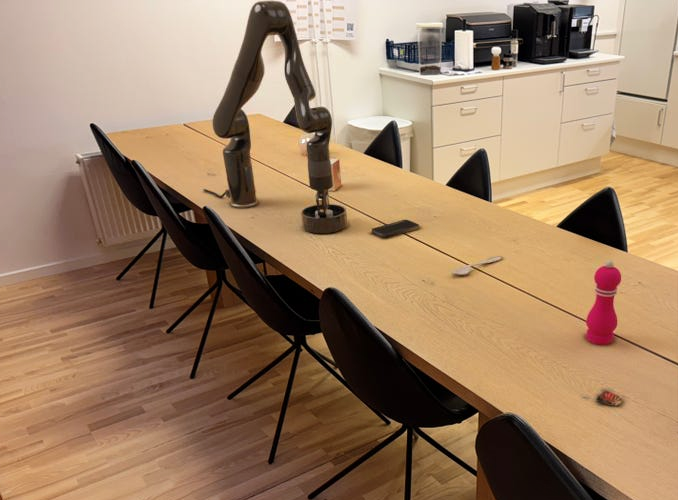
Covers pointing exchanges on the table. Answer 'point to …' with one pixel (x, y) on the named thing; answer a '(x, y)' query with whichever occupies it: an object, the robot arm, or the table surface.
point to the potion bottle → (304, 142)
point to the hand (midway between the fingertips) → (325, 222)
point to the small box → (335, 174)
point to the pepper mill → (603, 305)
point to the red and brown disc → (609, 398)
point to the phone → (395, 228)
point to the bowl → (324, 220)
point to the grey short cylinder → (329, 213)
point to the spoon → (467, 268)
